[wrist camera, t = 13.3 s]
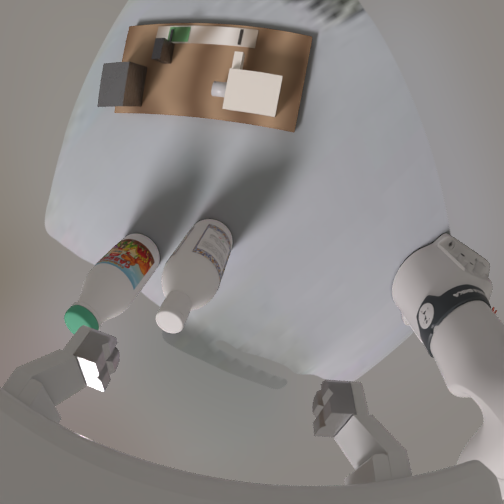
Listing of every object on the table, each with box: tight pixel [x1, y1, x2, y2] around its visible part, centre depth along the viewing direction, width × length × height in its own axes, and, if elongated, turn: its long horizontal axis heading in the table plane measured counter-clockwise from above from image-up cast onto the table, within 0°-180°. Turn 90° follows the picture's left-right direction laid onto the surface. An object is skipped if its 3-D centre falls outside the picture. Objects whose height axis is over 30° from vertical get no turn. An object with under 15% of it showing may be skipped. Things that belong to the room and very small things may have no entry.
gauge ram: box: [211, 51, 283, 117], centre depth 30 cm, size 8×8×5 cm
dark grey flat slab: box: [151, 29, 175, 64], centre depth 28 cm, size 1×5×4 cm, turn 171°
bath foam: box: [156, 219, 233, 333], centre depth 35 cm, size 7×7×20 cm
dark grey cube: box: [98, 62, 147, 107], centre depth 31 cm, size 4×6×6 cm, turn 170°
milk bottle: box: [64, 233, 160, 334], centre depth 38 cm, size 8×8×20 cm
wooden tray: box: [115, 23, 312, 132], centre depth 32 cm, size 26×14×2 cm, turn 80°
